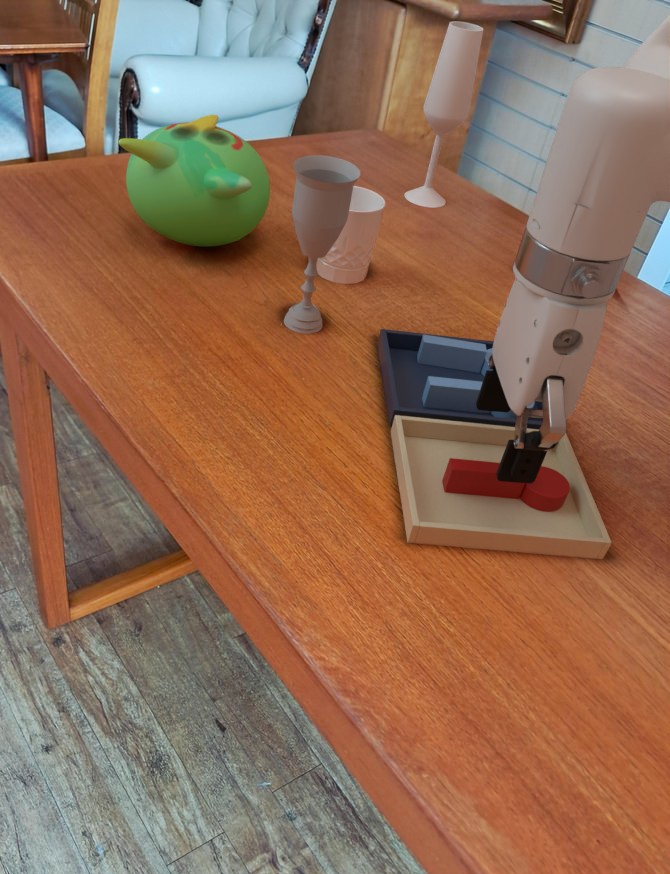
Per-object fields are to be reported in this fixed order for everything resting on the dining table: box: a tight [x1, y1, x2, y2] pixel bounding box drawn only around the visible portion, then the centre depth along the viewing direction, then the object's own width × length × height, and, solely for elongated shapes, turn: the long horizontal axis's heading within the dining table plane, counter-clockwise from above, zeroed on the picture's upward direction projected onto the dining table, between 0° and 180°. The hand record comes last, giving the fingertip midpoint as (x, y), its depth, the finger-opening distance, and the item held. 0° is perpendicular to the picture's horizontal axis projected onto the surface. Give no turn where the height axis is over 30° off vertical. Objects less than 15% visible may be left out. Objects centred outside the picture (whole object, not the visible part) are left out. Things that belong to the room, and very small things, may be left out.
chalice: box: [280, 154, 361, 334], centre depth 85 cm, size 7×7×18 cm
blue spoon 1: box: [417, 335, 493, 377], centre depth 87 cm, size 11×4×3 cm, turn 85°
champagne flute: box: [403, 20, 484, 209], centre depth 116 cm, size 7×7×24 cm
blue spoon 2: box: [422, 376, 535, 420], centre depth 81 cm, size 11×4×3 cm, turn 90°
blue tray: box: [376, 328, 543, 430], centre depth 84 cm, size 17×15×2 cm
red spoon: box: [442, 458, 570, 512], centre depth 72 cm, size 11×4×3 cm, turn 90°
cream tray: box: [390, 415, 613, 560], centre depth 72 cm, size 17×15×2 cm
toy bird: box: [117, 114, 271, 248], centre depth 99 cm, size 18×17×15 cm
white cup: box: [316, 185, 387, 285], centre depth 98 cm, size 8×8×10 cm
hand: (502, 442), depth 69 cm, fingers open, 9 cm apart
